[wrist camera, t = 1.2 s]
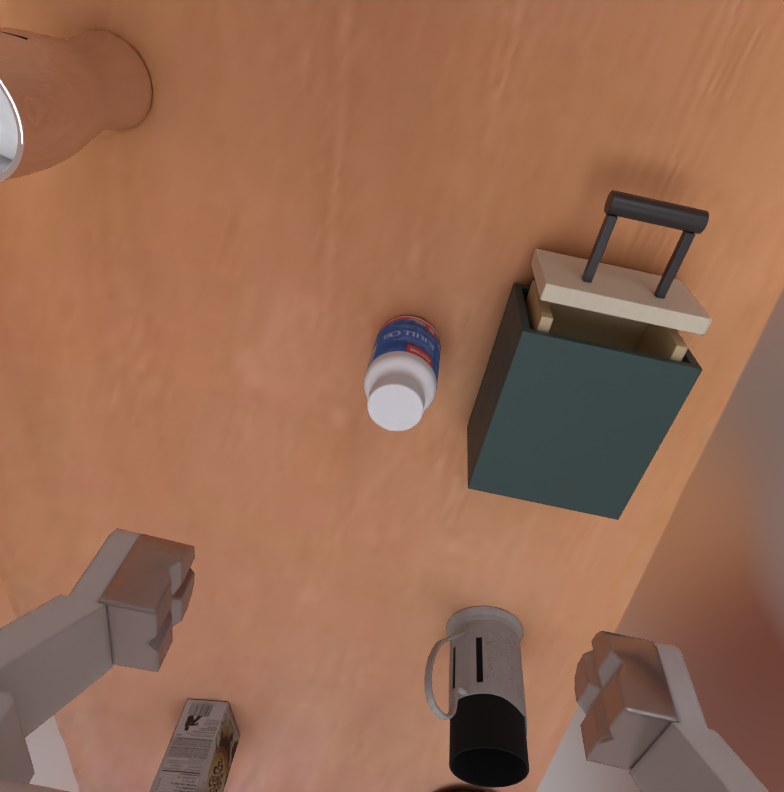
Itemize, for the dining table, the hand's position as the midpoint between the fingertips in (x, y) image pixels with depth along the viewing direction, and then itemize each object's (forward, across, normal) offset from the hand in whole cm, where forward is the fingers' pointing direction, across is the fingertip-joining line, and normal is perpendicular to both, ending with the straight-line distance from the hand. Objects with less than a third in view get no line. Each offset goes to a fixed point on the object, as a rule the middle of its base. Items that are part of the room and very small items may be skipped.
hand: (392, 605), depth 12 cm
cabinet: (+36, -13, +14) cm, 41 cm away
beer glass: (+37, +24, -1) cm, 44 cm away
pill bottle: (+37, 0, +14) cm, 39 cm away
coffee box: (+37, +14, +80) cm, 89 cm away
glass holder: (+37, -14, +47) cm, 61 cm away
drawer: (+36, -13, +7) cm, 39 cm away
